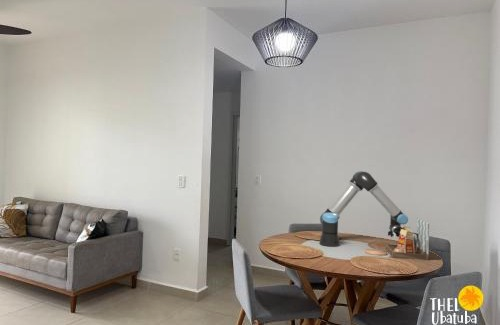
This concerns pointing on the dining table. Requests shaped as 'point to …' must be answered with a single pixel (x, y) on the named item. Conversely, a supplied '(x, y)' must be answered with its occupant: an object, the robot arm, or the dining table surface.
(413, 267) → the dining table surface
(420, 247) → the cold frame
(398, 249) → the peach rounded knob
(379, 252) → the tan round dome
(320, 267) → the dining table surface
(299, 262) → the dining table surface
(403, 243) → the milk carton
